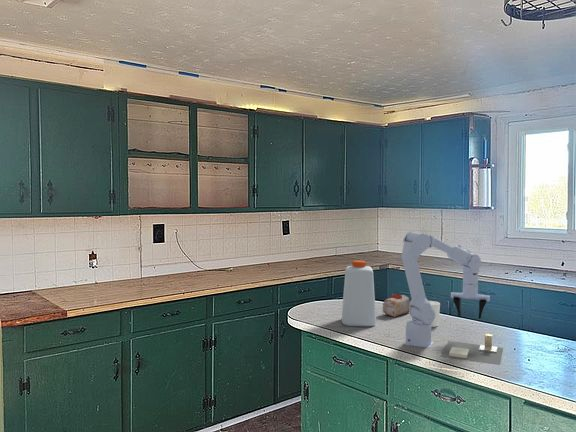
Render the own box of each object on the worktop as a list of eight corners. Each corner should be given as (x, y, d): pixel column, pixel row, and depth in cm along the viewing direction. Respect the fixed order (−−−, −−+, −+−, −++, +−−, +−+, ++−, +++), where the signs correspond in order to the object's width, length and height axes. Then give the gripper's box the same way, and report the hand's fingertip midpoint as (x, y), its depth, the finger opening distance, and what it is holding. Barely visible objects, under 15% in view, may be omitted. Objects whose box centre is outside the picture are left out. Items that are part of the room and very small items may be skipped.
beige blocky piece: (478, 350, 189) (479, 336, 189) (480, 346, 195) (480, 331, 194) (496, 353, 187) (496, 338, 186) (497, 348, 192) (497, 333, 192)
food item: (395, 318, 237) (395, 297, 236) (381, 315, 243) (381, 295, 242) (411, 313, 247) (411, 293, 246) (397, 310, 252) (397, 290, 252)
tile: (452, 350, 189) (449, 356, 183) (452, 346, 189) (449, 352, 183) (469, 353, 187) (466, 358, 181) (469, 349, 187) (466, 355, 180)
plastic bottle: (374, 318, 237) (374, 258, 235) (376, 327, 222) (377, 264, 220) (341, 317, 238) (342, 258, 237) (341, 326, 223) (342, 263, 222)
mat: (440, 357, 183) (440, 356, 183) (448, 342, 201) (448, 340, 201) (500, 366, 175) (500, 364, 175) (503, 349, 193) (503, 347, 193)
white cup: (427, 328, 221) (427, 305, 220) (417, 323, 229) (418, 301, 228) (443, 326, 223) (443, 304, 223) (433, 322, 231) (433, 300, 230)
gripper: (490, 283, 203) (489, 316, 203) (452, 280, 209) (452, 312, 210) (489, 286, 196) (488, 321, 197) (450, 283, 203) (449, 316, 204)
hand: (469, 317), depth 203 cm, fingers open, 7 cm apart
